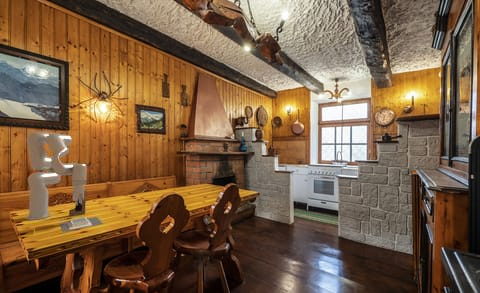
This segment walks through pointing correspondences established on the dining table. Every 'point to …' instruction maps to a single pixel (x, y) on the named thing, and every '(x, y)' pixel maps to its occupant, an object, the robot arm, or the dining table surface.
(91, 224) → the mat
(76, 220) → the deck
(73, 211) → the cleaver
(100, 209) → the dining table surface
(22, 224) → the dining table surface
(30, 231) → the dining table surface
